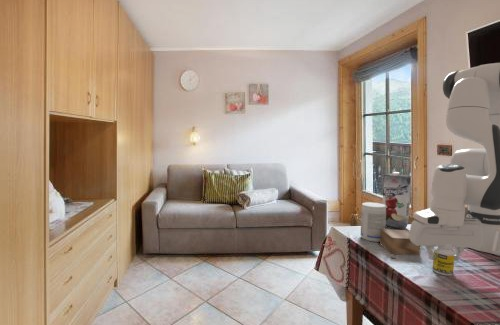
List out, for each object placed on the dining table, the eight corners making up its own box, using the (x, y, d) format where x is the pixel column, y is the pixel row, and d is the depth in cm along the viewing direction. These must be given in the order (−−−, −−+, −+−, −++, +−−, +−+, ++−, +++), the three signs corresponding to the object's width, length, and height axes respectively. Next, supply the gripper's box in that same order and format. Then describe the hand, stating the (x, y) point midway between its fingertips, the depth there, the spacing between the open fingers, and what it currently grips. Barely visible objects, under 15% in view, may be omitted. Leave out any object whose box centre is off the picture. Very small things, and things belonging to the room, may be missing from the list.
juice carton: (386, 222, 139) (389, 170, 137) (409, 228, 131) (413, 172, 129) (379, 226, 133) (382, 171, 131) (403, 231, 125) (406, 173, 123)
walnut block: (405, 244, 109) (406, 230, 109) (419, 255, 99) (420, 239, 99) (380, 243, 110) (381, 229, 110) (391, 253, 100) (392, 238, 100)
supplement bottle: (434, 274, 85) (437, 243, 84) (430, 266, 90) (432, 238, 89) (455, 277, 83) (458, 246, 82) (450, 269, 88) (452, 240, 87)
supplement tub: (389, 239, 115) (391, 205, 114) (376, 244, 109) (378, 208, 108) (368, 233, 123) (370, 201, 122) (355, 237, 117) (356, 203, 116)
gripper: (473, 214, 88) (470, 256, 89) (408, 212, 89) (405, 254, 90) (489, 220, 81) (486, 265, 82) (418, 218, 83) (415, 262, 84)
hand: (443, 259), depth 86 cm, fingers closed on supplement bottle, 5 cm apart
